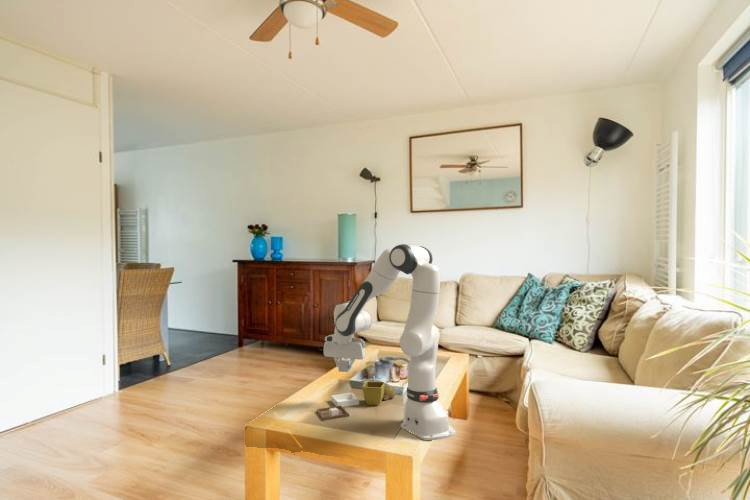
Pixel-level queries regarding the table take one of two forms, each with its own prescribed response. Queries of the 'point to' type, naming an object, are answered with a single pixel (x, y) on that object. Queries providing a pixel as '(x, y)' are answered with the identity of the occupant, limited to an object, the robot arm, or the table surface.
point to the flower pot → (373, 392)
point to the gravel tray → (325, 416)
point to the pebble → (344, 365)
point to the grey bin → (345, 400)
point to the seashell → (388, 392)
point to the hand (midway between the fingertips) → (344, 367)
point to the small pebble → (333, 412)
